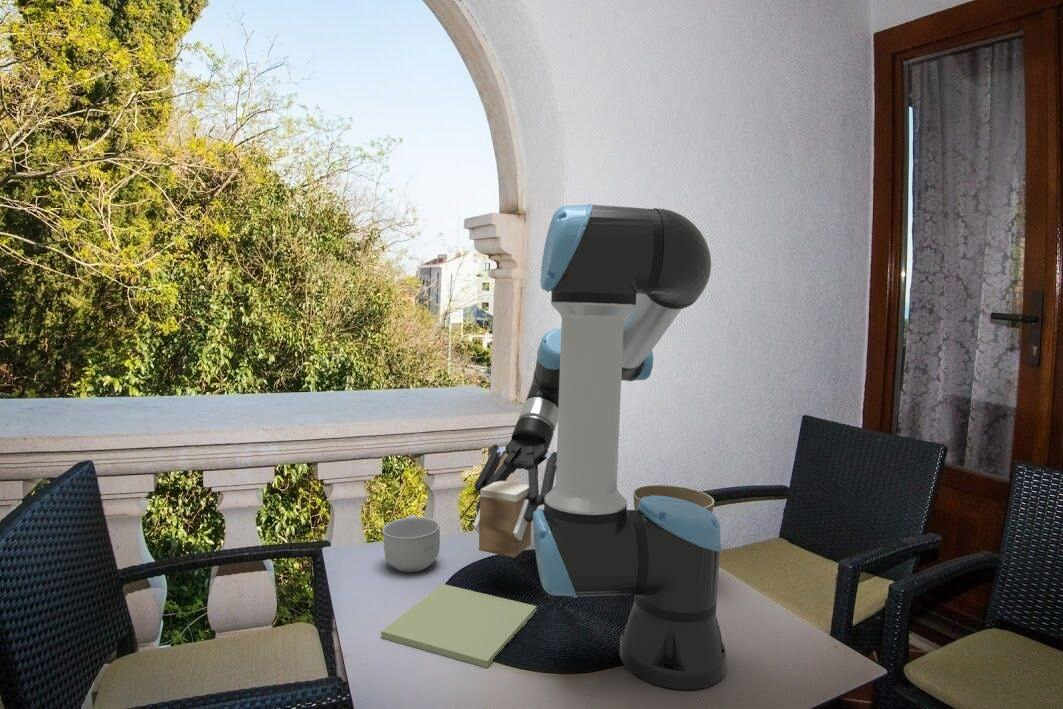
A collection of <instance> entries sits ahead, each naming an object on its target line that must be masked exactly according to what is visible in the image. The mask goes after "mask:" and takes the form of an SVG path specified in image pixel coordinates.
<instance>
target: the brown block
mask: <svg viewBox="0 0 1063 709" xmlns="http://www.w3.org/2000/svg"><path fill="white" fill-rule="evenodd" d="M529 497H530V496H529V484H525V483H520V482H513V481H512V482H511V481H506V480H505V481H497V482H494V483H492V484H490V485H488V486H486V487H484V488H482V489H480V495H479V498H480V528H479V533H478V534H479V535H478V551H480V552H485V553H491V554H494V555H499V556H504V557H511V558H514V559H515V558H516V557H518V556H519V554H521V553H522V552H523V551H524V550H526V549H527V548H528V547H530V545H531V543H532V522H527V525H526V528H525V531H524V534H523V537H522V540H521V541H520V540H517V538H516V537H515V535H514V533H513V532H514V529H515V526H516V523H517V520H518V517H519V515H520V512H521V509H522V506H523V503H524V500H525V499H526V500H529V501H530V498H529Z"/></svg>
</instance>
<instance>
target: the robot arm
mask: <svg viewBox="0 0 1063 709" xmlns="http://www.w3.org/2000/svg"><path fill="white" fill-rule="evenodd" d="M545 238H546V239H545V243H544V248H543V252H542V253H543V254H542V258H541V259H542V260H541V268H540V273H541V274H540V287H541V289H542V290H543V291H546V292H547V293H549V292H551V298H550V299H551V303H550V305H551V306H552V307H553V308H554V309H555V310H556V311H557V313H558V314H559V316H560V317H561V323H560V325H561V326H560V328H554V329H551V330H549V331H547V332H546V333H545V334H544V335H543V336H542V339H541V341H540V343H539V345H538V346H539V347H538V349H537V354H536V362H535V368H534V373H533V378H532V382H531V385H530V387H529V390H528V394H527V396H526V398H525V400H524V401H525V402H524V403H523V406H522V407H521V408H522V409H521V411H520V414H519V416H518V420H517V422H516V424H515V426H514V429H513V431H512V434H511V437H510V438H511V439H510V440H509V442H508V443H507V444H506V446H498V444H493V445H491V451H490V455H489V457H488V458H487V461H486V462H485V464H484V466H483V468H482V470H481V472H480V473H479V475H478V477H477V479H476V481H475V483H474V485H473V487H474V489H475V491H476V493H477V494H478V495H479V496H480V489H482V488H484V487H486V486H488V485H490V484H492V483H494V482H497V481H506V480H507V479H508V478H509V477H510V476H511V474H514V473H515V472H516V470H521V469H522V470H525V471H528V473H527V474H528V485H529V496H530V497H529V498H530V501H529V500H526V499H525V500H524V503H523V506H522V509H521V512H520V515H519V517H518V520H517V523H516V526H515V529H514V532H513V533H514V535H515V537H516V538H517V540H520V541H521V540H522V537H523V534H524V531H525V528H526V525H527V522H531V523H532V532H533V542H534V549H535V555H536V556H535V557H536V565H537V569H538V575H539V579H540V584H541V586H542V587H543V590H544V591H545V592H546V593H547V594H549V595H551V596H561V597H563V596H564V597H565V596H566V597H573V598H578V597H601V596H603V597H604V596H606V597H607V596H634V598H633V600H634V601H633V604H632V608H631V610H630V613H629V615H628V620H627V622H626V625H625V627H624V628H623V630H622V632H621V634H620V639H619V657H620V660H621V662H622V664H623V666H625V668H626V669H627V670H629V671H630V672H631V673H632V674H633V675H635V676H636V677H637V678H639V679H641V680H643V681H645V682H647V683H649V684H652V685H656V686H659V687H663V688H668V689H673V690H683V691H684V690H686V691H687V690H689V691H691V690H692V691H693V690H700V689H705V688H708V687H710V686H713V685H715V684H717V683H718V682H719V681H721V679H722V678H723V677H724V675H725V673H726V663H727V653H726V652H727V651H726V648H725V644H724V643H723V638H722V637H723V636H722V633H721V629H720V626H719V622H718V618H717V600H718V585H719V571H720V557H721V556H720V555H721V550H722V543H721V523H720V520H719V519H718V517H717V516H716V515H715V514H714V513H713V511H712V512H710V511H709V510H707V509H706V508H704V507H702V506H699V505H697V504H694V503H692V502H689V501H685V500H682V499H677V498H673V497H667V496H648V497H643V498H642V499H640V501H639V503H638V510H635V509H628V508H627V507H628V502H627V499H626V498H625V496H624V495H622V493H621V492H620V491H619V490H618V489H617V488H618V469H619V468H618V466H619V463H618V462H619V445H620V444H619V442H620V421H621V420H620V416H621V415H620V414H621V397H622V395H621V394H622V393H621V392H622V381H627V382H633V381H645V380H647V379H649V377H650V376H651V375H652V370H653V369H654V368H653V367H654V353H653V349H654V348H655V346H656V345H657V344H658V343H659V341H660V340H661V338H662V337H663V336H664V334H665V333H666V332H667V331H668V329H669V327H670V326H671V325H672V323H673V322H674V320H675V319H676V317H678V315H679V314H680V312H681V311H682V310H684V309H686V308H689V307H690V306H692V305H693V304H695V302H696V301H697V300H698V299H699V298H700V296H701V295H702V293H703V292H704V291H705V289H706V287H707V286H708V283H709V279H710V276H711V270H712V269H711V268H712V258H711V252H710V248H709V246H708V243H707V240H706V238H705V237H704V235H703V233H702V232H701V231H700V230H699V228H698V227H697V226H696V225H695V224H694V222H692V221H691V220H690V219H688V218H687V217H685V215H682V214H680V213H679V212H676V211H672V210H669V209H667V208H666V209H665V208H644V207H643V208H642V207H630V206H615V205H603V204H602V205H601V204H591V203H590V204H575V205H571V204H570V205H563V206H560V207H559V208H558V209H557V210H556V211H555V212H554V213H553V215H552V218H551V220H550V223H549V226H548V230H547V233H546V237H545ZM556 427H557V435H556V436H557V438H556V439H557V440H556V451H553V452H550V451H549V448H550V446H551V443H552V440H553V437H554V432H555V431H556ZM505 455H507V456H506V457H505V458H504V456H505ZM503 459H504V460H503ZM501 460H503V461H502V465H500V463H501ZM545 460H546V465H545V469H544V475H543V479H542V485H541V490H540V488H539V465H540V464H542V462H544V461H545ZM499 465H500V466H499ZM498 467H499V468H498ZM554 483H555V485H554ZM475 506H476V507H475V509H476V511H477V513H476V514H477V515H476V518H475V519H474V522H473V527H474V529H475V530H476V532H477V534H479V528H480V497H479V499H478V501H477V504H476V505H475ZM539 506H543V508H538V507H539Z"/></svg>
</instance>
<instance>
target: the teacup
mask: <svg viewBox="0 0 1063 709" xmlns="http://www.w3.org/2000/svg"><path fill="white" fill-rule="evenodd" d="M440 528H441V524H440V522H439V521H438V520H437V519H434V518H430V517H428V516H427V517H423V516H417V514H409V515H408V517H404V518H402V517H401V518H399V519H394V520H392V521H390V522H388V523H386V524H385V525H384V526H383V527H382V529H381V530H382V531H381V532H382V537H383V539H382V540H383V550H384V552H383V553H384V556H385V560H386V561H387V563H388V564H389V565H390V566H392V567H393V568H395V569H396V570H397V571H398V572H404V573H415V572H420V571H423V570H425V569H427V568H428V567H430V566H431V564H433V563H434V562H435V561H436V560H437V558H438V556H439V554H440V549H441V548H440V545H441V544H440V543H441V541H440V540H441V537H440V536H441V535H440V534H441V533H440V532H441V531H440V530H441V529H440Z"/></svg>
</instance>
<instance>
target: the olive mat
mask: <svg viewBox="0 0 1063 709" xmlns="http://www.w3.org/2000/svg"><path fill="white" fill-rule="evenodd" d="M535 612H536V613H537V606H536V605H534V604H529V603H524V602H520V601H517V600H512V599H509V598H504V597H500V596H497V595H496V596H495V595H491V594H487V593H482V592H478V591H474V590H470V589H465V588H461V587H458V586H452V585H449V584H445V583H443V584H441V585H439V586H438V587H436V588H435V589H434V590H433V591H432V592H429V593H428V594H427V596H425V597H423V598H422V599H421V600H420V601H418V603H416V604H415V605H413V606H412V607H410V608H409V609H407V611H406V612H404V613H403V614H402V615H400V616H399V617H398V618H396V619H395V620H394V621H392V622H391V623H390V624H389V625H387V626H386V627H385V628H384V629H382V630H381V631H380V638H382V639H385V640H388V641H393V642H395V643H399V644H402V645H407V646H410V647H413V648H416V649H420V650H423V651H426V652H431V653H434V654H437V655H441V656H445V657H447V658H451V659H454V660H457V661H461V662H462V661H463V662H465V663H469V664H472V665H476V666H479V667H483V668H489V667H490V665H491V664H492V663H493V662H494V661H493V659H494V658H495V656H496V655H497V654H498V653H499V652H500V651H501V650H502V649H503V648H504V646H505V645H506V644H507V643H508V642H509V641H510V640H511V639H512V638H513V637H514V635H515V634H516V633H517V632H518V631H519V630H520V629H521V628H522V627H523V628H524V626H526V624H527V623H528V622H529V621H530V620H531V618H533V616H534V615H535V614H536V613H535ZM534 613H535V614H534ZM529 619H530V620H529ZM528 620H529V621H528ZM527 621H528V622H527ZM523 628H522V629H523ZM522 629H521V630H522ZM521 630H520V631H521ZM520 631H519V632H520ZM519 632H518V633H519ZM518 633H517V634H518ZM517 634H516V635H517ZM514 638H515V637H514ZM514 638H513V639H514ZM513 639H512V640H513ZM512 640H511V641H512ZM511 641H510V642H511ZM510 642H509V643H510ZM504 649H505V648H504ZM504 649H503V650H504ZM503 650H502V651H503ZM502 651H501V652H502ZM495 659H496V658H495ZM495 659H494V660H495Z"/></svg>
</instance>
